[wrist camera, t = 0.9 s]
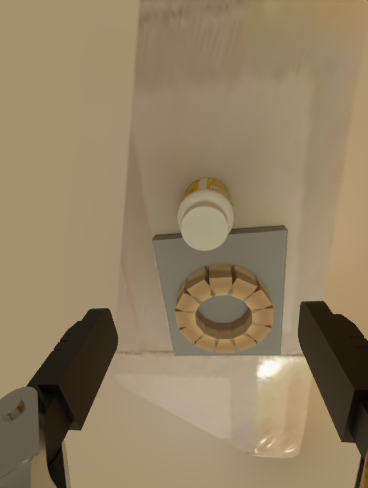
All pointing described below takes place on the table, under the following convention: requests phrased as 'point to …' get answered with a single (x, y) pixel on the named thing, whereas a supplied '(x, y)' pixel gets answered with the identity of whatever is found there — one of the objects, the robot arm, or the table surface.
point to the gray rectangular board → (234, 253)
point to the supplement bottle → (205, 214)
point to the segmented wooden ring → (224, 334)
